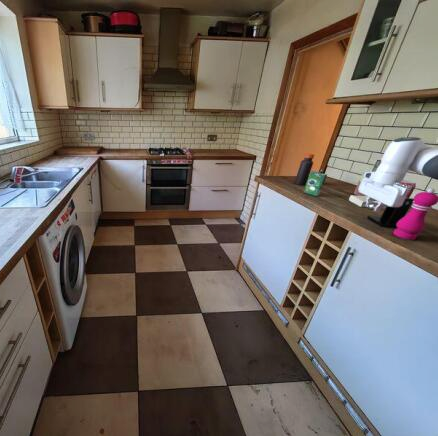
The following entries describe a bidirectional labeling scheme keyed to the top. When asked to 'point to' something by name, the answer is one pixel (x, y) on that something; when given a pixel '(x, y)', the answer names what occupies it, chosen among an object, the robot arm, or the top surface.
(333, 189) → the top surface
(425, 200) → the pepper mill
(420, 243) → the top surface
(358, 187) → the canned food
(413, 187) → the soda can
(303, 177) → the bottle
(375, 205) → the metal spoon
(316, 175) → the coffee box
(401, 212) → the latch bracket
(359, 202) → the plate
